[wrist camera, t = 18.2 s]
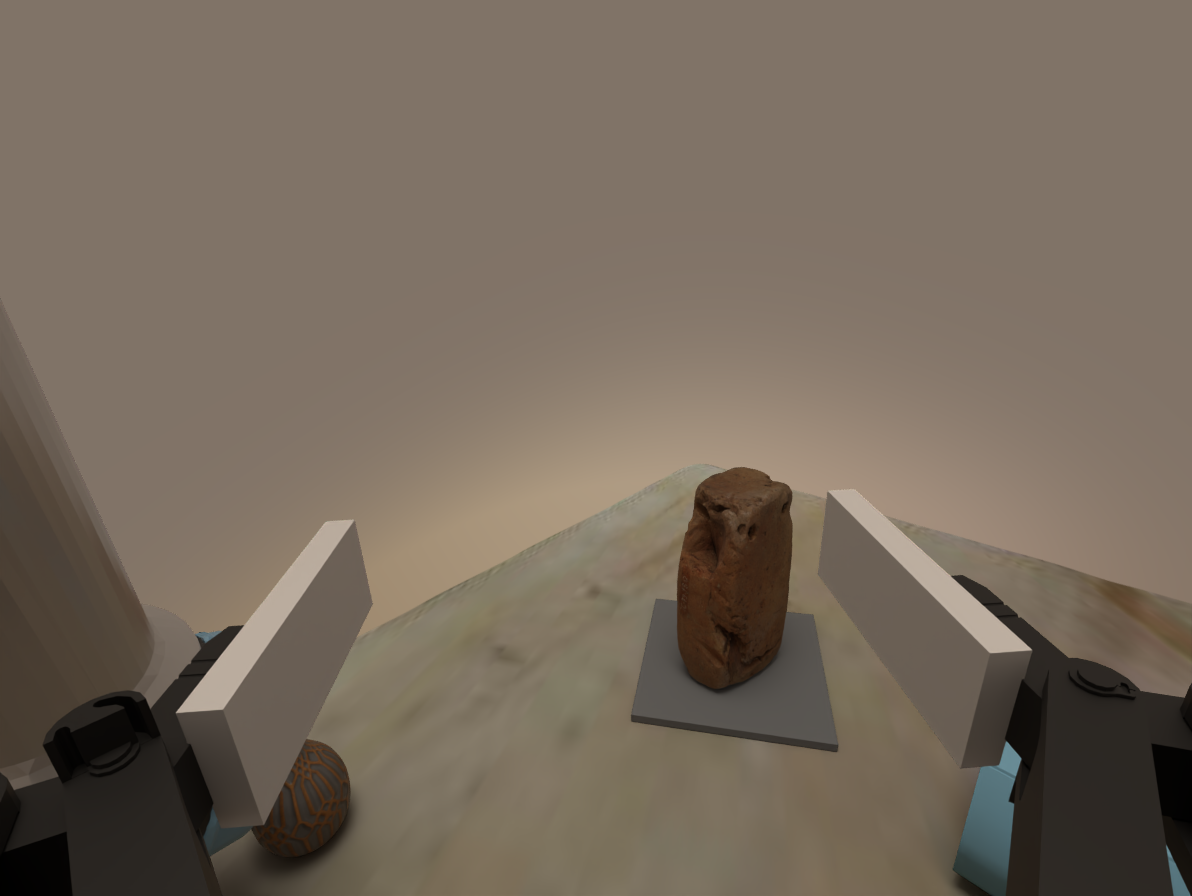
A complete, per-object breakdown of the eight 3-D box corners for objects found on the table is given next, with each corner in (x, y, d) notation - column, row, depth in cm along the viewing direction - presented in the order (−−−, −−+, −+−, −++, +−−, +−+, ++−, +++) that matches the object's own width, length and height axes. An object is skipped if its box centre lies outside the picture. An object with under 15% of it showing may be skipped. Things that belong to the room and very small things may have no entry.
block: (731, 620, 66) (741, 457, 59) (790, 654, 60) (808, 479, 53) (665, 666, 59) (666, 490, 52) (724, 709, 54) (734, 518, 47)
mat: (631, 721, 54) (631, 714, 54) (655, 604, 70) (655, 598, 70) (837, 751, 50) (838, 745, 50) (812, 620, 67) (813, 614, 66)
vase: (242, 844, 45) (210, 761, 41) (322, 775, 50) (300, 696, 47) (295, 893, 41) (265, 806, 38) (375, 813, 47) (355, 731, 43)
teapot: (1008, 747, 50) (1047, 614, 45) (1188, 836, 42) (1258, 689, 37) (914, 962, 36) (956, 805, 31) (1157, 1152, 28) (1263, 985, 23)
